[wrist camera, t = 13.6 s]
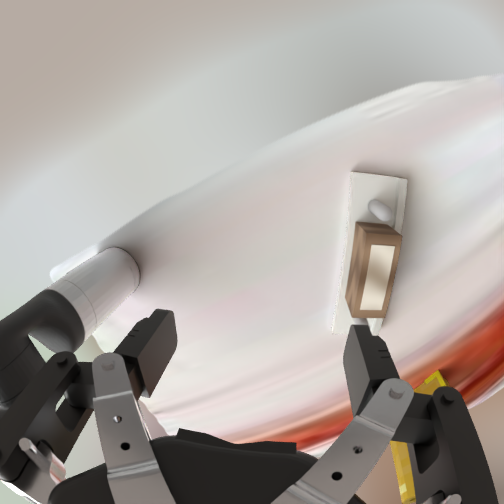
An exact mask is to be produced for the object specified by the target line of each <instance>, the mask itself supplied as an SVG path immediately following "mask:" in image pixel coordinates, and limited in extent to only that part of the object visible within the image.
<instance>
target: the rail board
mask: <svg viewBox="0 0 504 504" xmlns="http://www.w3.org/2000/svg"><path fill="white" fill-rule="evenodd" d="M407 182H408V179H404V178H400V177H393V176H385V175H377V174H369V173H360V172H351V178H350V192H349V204H348V215H347V225H346V234H345V243H344V251H343V259H342V266H341V273H340V280H339V287H338V293H337V299H336V305H335V311H334V316H333V322H332V327H331V331H332V334H349V329H350V326H351V325H352V324H358V325H368V326H369V328H370V331H371V333H372V336H377V335H379V332H380V328H381V325H382V321H383V318H352V317H351V314H350V311H349V308H348V305H347V302H346V299H345V293H346V287H347V281H348V275H349V269H350V262H351V255H352V247H353V239H354V231H355V222H367V223H379V224H388V225H389V226H390V227H392V228H393V229H394V230H396V231H397V232H398V233H399V234H401V232H402V225H403V218H404V210H405V202H406V192H407Z"/></svg>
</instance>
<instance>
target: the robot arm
mask: <svg viewBox="0 0 504 504" xmlns="http://www.w3.org/2000/svg"><path fill="white" fill-rule="evenodd" d="M139 281H140V273H139V269H138V266H137V264H136V262H135V261H134V259H133V258H132V257H131V256H130V254H128V253H127V252H126V251H124V250H122V249H120V248H116V247H112V248H108V249H106V250H104V251H103V252H101V253H99V254H96V255H95V256H93V257H92V258H90V259H88V260H87V261H85V262H84V263H82V264H81V265H79V266H77V267H76V268H74V269H73V270H71V271H70V272H68V273H67V274H66V275H65V276H63V277H62V278H60V279H59V280H58V281H56V282H55V283H53V284H52V285H51V286H49V287H47V288H46V289H45V290H43V291H42V292H40V293H39V294H38V295H36V296H35V297H34V298H32V299H31V300H30V301H28V302H27V303H26V304H25V305H23V306H21V307H20V308H19V309H17V310H16V311H14V312H13V313H11V314H10V315H8V316H7V317H6V318H4V319H2V320H1V321H0V480H1V481H3V482H4V483H5V484H6V485H7V486H8V487H10V488H11V489H12V490H13V491H15V492H16V493H17V494H20V495H21V496H22V497H24V498H25V499H26V500H28V501H29V502H31V503H34V504H366V503H365V502H364V501H363V500H361V499H360V498H359V497H358V496H357V495H356V494H355V492H356V491H357V490H358V488H359V487H360V486H361V485H362V483H363V482H364V480H365V479H366V478H367V476H368V475H369V473H370V472H371V471H372V469H373V467H374V466H375V465H376V463H377V462H378V460H379V458H380V457H381V455H382V454H383V452H384V451H385V449H386V447H387V446H388V444H389V442H390V441H398V442H405V443H407V447H408V453H409V458H410V464H411V470H412V476H413V483H414V490H415V497H416V504H498V499H497V495H496V491H495V487H494V483H493V480H492V476H491V473H490V470H489V466H488V464H487V460H486V457H485V454H484V451H483V448H482V445H481V443H480V440H479V437H478V435H477V432H476V429H475V427H474V424H473V422H472V419H471V416H470V414H469V412H468V409H467V407H466V405H465V402H464V400H463V398H462V396H461V394H460V393H459V392H458V391H457V390H456V389H454V388H452V387H449V386H441V387H438V388H437V389H436V390H435V391H434V392H433V394H432V395H428V394H421V393H416V392H414V391H413V388H412V386H411V385H410V384H409V383H407V382H406V381H404V380H401V379H400V377H399V375H398V372H397V370H396V367H395V365H394V362H393V360H392V358H391V355H390V353H389V352H388V348H387V346H386V343H385V342H384V341H383V340H382V339H381V338H380V337H379V336H378V335H377V336H372V333H371V331H370V328H369V326H368V325H358V324H352V325H351V326H350V329H349V334H348V338H347V342H346V346H345V350H344V356H343V364H344V369H345V374H346V379H347V385H348V390H349V395H350V401H351V407H352V412H353V418H354V419H353V420H352V421H351V423H350V424H349V425H348V426H347V428H346V429H345V430H344V431H343V433H342V434H341V435H340V436H339V437H338V439H337V440H336V441H335V442H334V443H333V444H332V446H331V447H330V448H329V449H328V450H327V451H326V452H325V453H324V455H323V456H322V457H321V458H320V459H317V458H315V457H314V456H311V455H309V454H307V453H304V452H301V451H297V450H296V443H293V442H273V441H264V442H255V443H244V444H233V443H230V442H227V441H225V440H222V439H219V438H217V437H214V436H211V435H209V434H206V433H201V432H195V431H190V430H185V429H181V428H179V430H178V433H177V435H176V436H174V435H173V436H164V437H159V438H156V439H153V440H152V438H151V436H150V433H149V431H148V428H147V425H146V423H145V420H144V417H143V415H142V411H141V409H140V405H139V403H138V399H139V398H140V396H143V397H147V398H150V397H151V395H152V393H153V391H154V389H155V387H156V385H157V383H158V382H159V380H160V378H161V376H162V374H163V372H164V370H165V369H166V367H167V365H168V363H169V361H170V359H171V358H172V356H173V354H174V352H175V350H176V347H177V333H176V326H175V319H174V313H173V311H170V310H163V309H156V310H155V311H154V312H153V313H152V315H151V316H150V317H149V318H144V319H142V320H141V321H139V322H137V323H136V325H135V326H134V327H133V328H132V330H131V331H130V332H129V333H128V336H126V337H125V338H124V339H123V341H122V342H121V343H120V344H119V346H118V347H117V348H116V349H115V351H114V352H113V353H104V354H101V355H99V356H98V357H97V358H95V359H94V361H93V362H78V361H77V358H76V356H75V355H74V354H73V353H74V352H75V351H76V350H77V349H78V348H79V347H80V346H81V345H82V344H83V342H84V341H85V340H86V339H87V338H88V337H89V336H90V335H91V334H92V333H93V332H94V331H95V330H96V329H97V328H98V327H99V326H100V325H101V324H102V323H103V322H104V321H105V320H106V319H107V318H108V317H109V316H110V315H111V314H112V313H113V312H114V311H115V310H116V309H117V308H118V307H119V306H120V305H121V304H122V303H123V302H124V301H125V300H126V299H127V298H128V297H129V296H130V295H131V294H132V293H133V292H134V291H135V290H136V288H137V287H138V285H139ZM28 334H29V335H30V336H32V337H34V338H35V339H37V340H38V341H39V342H41V343H42V344H43V345H44V346H46V347H47V348H48V349H50V350H51V351H53V352H55V353H56V354H54V355H53V356H52V357H51V358H50V359H49V360H48V362H47V363H46V362H45V361H44V359H43V358H42V357H41V355H40V353H39V352H38V351H37V349H36V347H35V346H34V344H33V343H32V341H31V340H30V338H29V336H28ZM63 394H64V396H65V399H64V401H63V402H62V404H61V405H60V407H59V408H58V410H57V411H55V409H56V404H57V403H58V401H59V400H60V399H61V397H62V396H63ZM93 411H95V417H96V421H97V427H98V432H99V437H100V441H101V446H102V450H103V454H104V458H105V463H103V464H101V465H99V466H97V467H95V468H92V469H90V470H87V471H85V472H83V473H80V474H78V475H76V476H73V477H71V478H68V479H66V478H65V473H66V471H65V467H64V463H65V461H66V459H67V457H68V455H69V453H70V452H71V450H72V448H73V446H74V444H75V442H76V441H77V439H78V437H79V435H80V433H81V431H82V430H83V428H84V426H85V425H86V423H87V421H88V419H89V418H90V416H91V414H92V412H93Z"/></svg>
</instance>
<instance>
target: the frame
mask: <svg viewBox="0 0 504 504" xmlns="http://www.w3.org/2000/svg"><path fill="white" fill-rule="evenodd" d="M401 241H402V235H401V234H399V233H398V232H397V231H396V230H394V229H393V228H392V227H390V226H389V225H388V224H379V223H367V222H355V231H354V239H353V247H352V255H351V262H350V269H349V275H348V281H347V287H346V293H345V299H346V302H347V305H348V308H349V311H350V314H351V317H352V318H385V315H386V311H387V308H388V304H389V300H390V296H391V291H392V287H393V283H394V278H395V273H396V268H397V263H398V258H399V253H400V247H401Z"/></svg>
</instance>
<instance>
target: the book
mask: <svg viewBox="0 0 504 504" xmlns="http://www.w3.org/2000/svg"><path fill="white" fill-rule="evenodd" d="M424 381H425V382H424V383H422V384H421V385H420V386H418V387H417V388H416V389H414V390H413V391H414V392H416V393H421V394H428V395H432V394H433V392H434V391H435V390H436V389H437V388H438V387H441V386H449V387H450V385H449V383H448V381H447V380H446V379H444V378H443V377H442V375H441V373H440V372H439V371H438V370H437V371H436V372H434V373H433V374H432V375H431V376H429V377H428V378H427V379H426V380H424ZM390 445H391V449H392V453H393V458H394V463H395V468H396V473H397V478H398V483H399V489H400V494H401V500H402V504H409V503H413V502H416V497H415V490H414V483H413V476H412V470H411V464H410V458H409V453H408V447H407V443H405V442H398V441H390Z"/></svg>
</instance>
